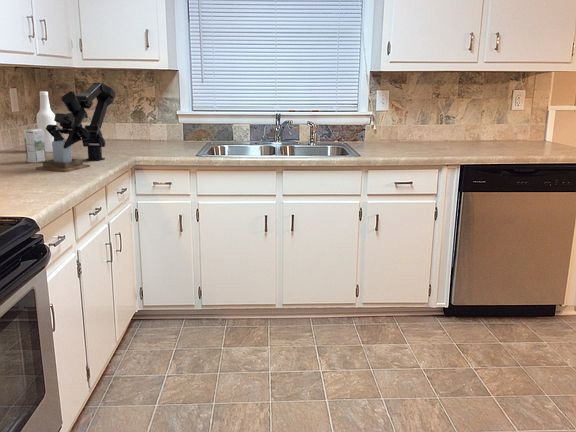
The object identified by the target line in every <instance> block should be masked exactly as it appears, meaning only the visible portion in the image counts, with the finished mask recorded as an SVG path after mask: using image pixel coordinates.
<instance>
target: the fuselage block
mask: <svg viewBox="0 0 576 432" xmlns="http://www.w3.org/2000/svg"><path fill="white" fill-rule="evenodd" d="M65 142H66V140H63V141H61V140H60V141H53V142H52V149H53V152H52V156H53V157H52V158H53V159H54V162H62V163H65V162H70V161H72V159H73V157H72V148H71V147H72V145H71V146H69V147H67V148H66V149H65V148H64V144H65ZM53 159H52V160H53Z"/></svg>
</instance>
